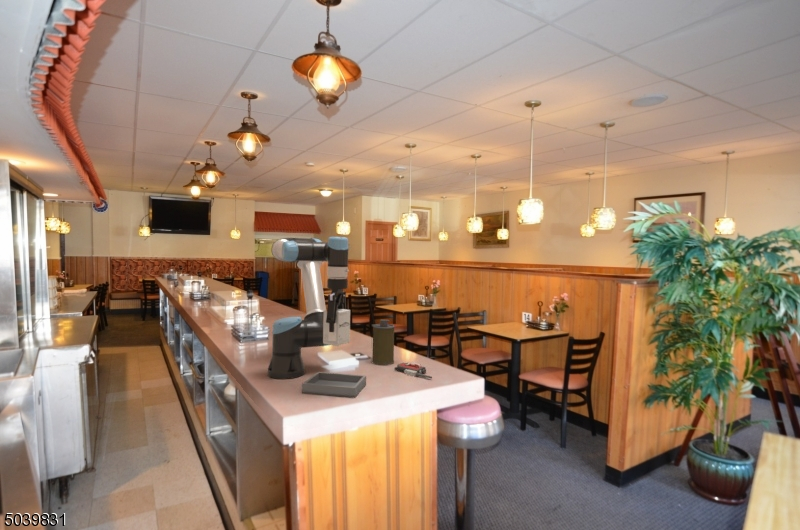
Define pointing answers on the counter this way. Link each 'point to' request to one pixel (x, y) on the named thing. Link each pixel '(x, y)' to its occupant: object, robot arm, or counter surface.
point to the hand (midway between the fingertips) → (336, 337)
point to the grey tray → (334, 384)
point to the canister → (383, 343)
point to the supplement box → (338, 328)
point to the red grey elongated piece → (412, 369)
